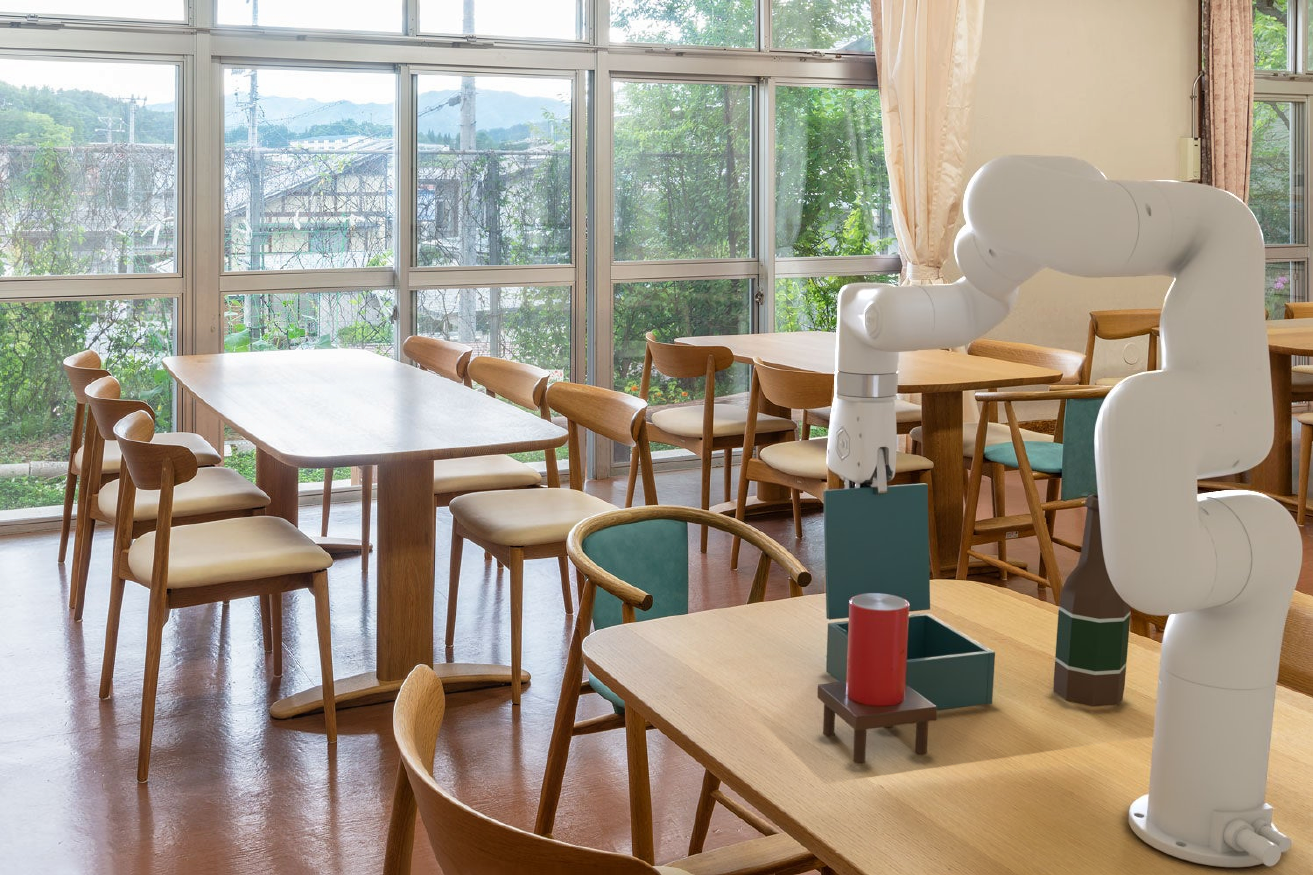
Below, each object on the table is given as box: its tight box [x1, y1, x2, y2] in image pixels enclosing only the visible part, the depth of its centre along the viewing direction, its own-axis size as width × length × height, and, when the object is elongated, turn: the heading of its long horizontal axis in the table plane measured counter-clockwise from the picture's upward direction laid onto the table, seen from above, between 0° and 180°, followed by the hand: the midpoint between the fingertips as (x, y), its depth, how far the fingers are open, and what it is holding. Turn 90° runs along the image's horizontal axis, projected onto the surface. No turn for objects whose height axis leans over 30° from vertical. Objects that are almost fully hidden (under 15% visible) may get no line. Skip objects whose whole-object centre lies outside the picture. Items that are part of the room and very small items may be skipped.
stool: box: [816, 681, 938, 765], centre depth 131 cm, size 9×9×6 cm
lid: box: [822, 483, 931, 621], centre depth 153 cm, size 15×14×1 cm
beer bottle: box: [1053, 493, 1132, 707], centre depth 144 cm, size 8×8×24 cm
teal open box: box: [825, 612, 996, 712], centre depth 147 cm, size 15×14×7 cm
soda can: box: [846, 593, 910, 706], centre depth 130 cm, size 6×6×10 cm
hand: (859, 532), depth 157 cm, fingers closed
